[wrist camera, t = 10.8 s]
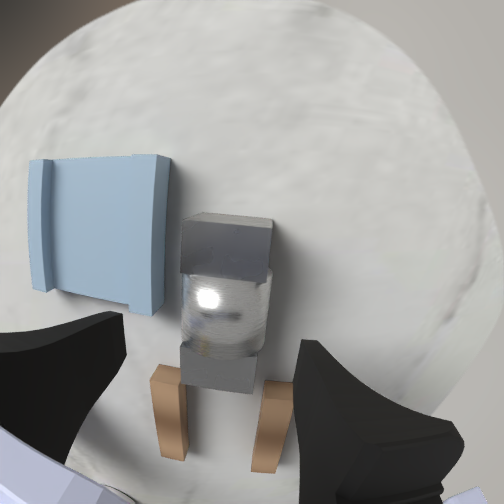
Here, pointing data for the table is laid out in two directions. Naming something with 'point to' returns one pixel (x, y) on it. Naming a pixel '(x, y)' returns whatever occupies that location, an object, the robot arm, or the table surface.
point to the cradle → (100, 227)
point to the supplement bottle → (121, 495)
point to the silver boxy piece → (224, 299)
